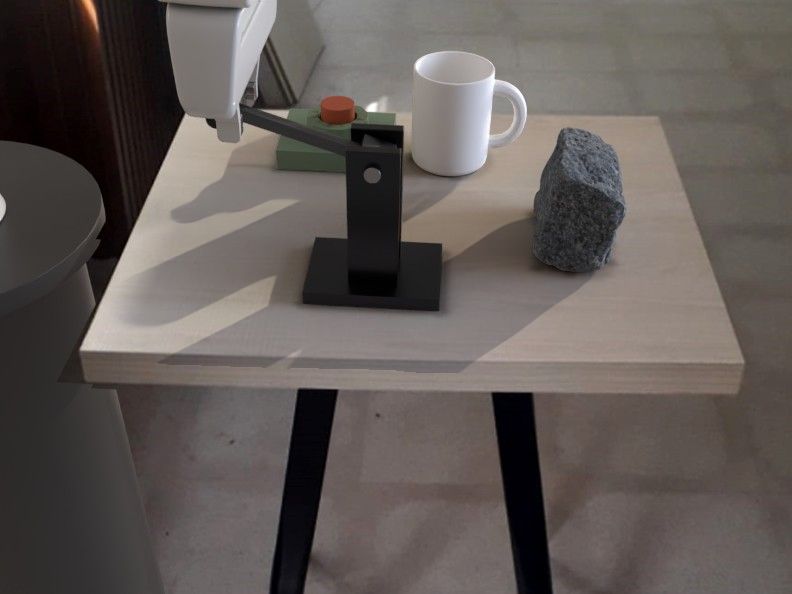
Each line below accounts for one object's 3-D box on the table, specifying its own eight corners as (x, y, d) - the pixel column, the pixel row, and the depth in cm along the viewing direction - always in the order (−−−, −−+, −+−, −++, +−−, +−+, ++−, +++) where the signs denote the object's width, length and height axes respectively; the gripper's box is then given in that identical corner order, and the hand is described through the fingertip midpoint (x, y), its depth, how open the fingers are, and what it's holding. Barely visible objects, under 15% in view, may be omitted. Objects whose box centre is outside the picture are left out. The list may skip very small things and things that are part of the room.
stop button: (319, 125, 101) (318, 109, 100) (323, 110, 104) (322, 94, 103) (352, 126, 101) (352, 111, 100) (356, 111, 104) (356, 96, 103)
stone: (521, 205, 97) (533, 112, 90) (597, 207, 97) (614, 114, 90) (533, 276, 88) (547, 178, 81) (618, 278, 88) (638, 180, 81)
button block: (277, 169, 101) (274, 134, 99) (291, 126, 109) (289, 92, 106) (389, 174, 101) (390, 139, 98) (396, 131, 108) (396, 97, 106)
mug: (519, 144, 107) (529, 53, 100) (523, 181, 101) (534, 87, 94) (411, 140, 107) (414, 49, 100) (409, 176, 101) (412, 82, 94)
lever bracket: (302, 303, 84) (294, 160, 75) (315, 247, 90) (309, 109, 81) (439, 311, 83) (447, 168, 74) (442, 254, 90) (450, 116, 81)
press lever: (202, 130, 75) (208, 103, 74) (215, 102, 79) (221, 76, 78) (384, 190, 78) (393, 165, 76) (389, 161, 82) (397, 136, 80)
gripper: (212, -105, 76) (225, 64, 85) (145, -16, 61) (169, 179, 70) (292, -100, 76) (296, 70, 85) (243, -8, 61) (255, 185, 70)
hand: (238, 120), depth 77 cm, fingers closed on press lever, 5 cm apart
